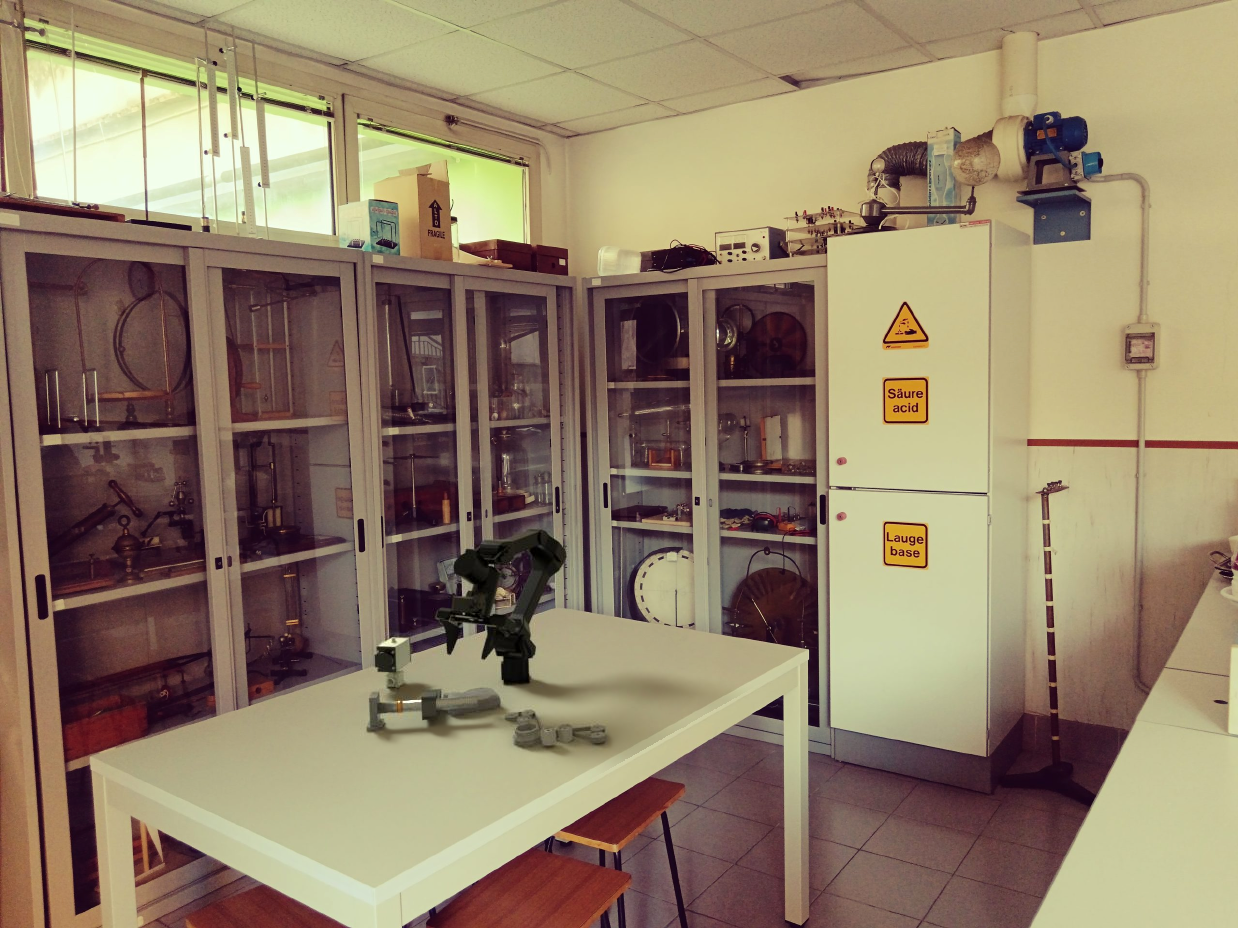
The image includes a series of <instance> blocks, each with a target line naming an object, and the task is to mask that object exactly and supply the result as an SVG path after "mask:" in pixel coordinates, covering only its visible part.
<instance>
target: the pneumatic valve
mask: <svg viewBox="0 0 1238 928" xmlns="http://www.w3.org/2000/svg"><path fill="white" fill-rule="evenodd" d="M375 648H376V649H375V650H376V653H375V654H374V668H377V671H376V672H377V673H386V674H385V677H386V679H385V680H386V681H385V682H386V684H385V686H386V688H398V689H399V688H400V687H401V686H403V685H404V684H405V682H406V681H405V680H404V679H405V670H404V669H403V668H405V667H406V666H407V665H409V664H410V663H412V653H413V645H412V643H411V637H408V636H407V637H403V636H399V637H398V636H393V637H391V638H389V639H387V640H384V641H382V642H380V643H379V644H378V645H377V646H376V647H375Z"/></svg>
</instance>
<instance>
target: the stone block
mask: <svg viewBox="0 0 1238 928" xmlns="http://www.w3.org/2000/svg"><path fill="white" fill-rule="evenodd" d="M474 696H477V697H478V708H464V709H448V710H444V711H445V712H447V713H448V714H449V715H451V717H458V716H462V715H463V716H464V715H469V714H475V713H480V712H484V711H485V712H486V711H491V710H494V709H499V708H500V706H501V704H502V703H501V697H500V695H499V694H498V693H497V692H496V691H495V690H494V689H493V687H485V686H484V687H477V688H471V689H468V690H465V691H462V692H461V691H457V692H456V691H453V692H444V693H443V697H442V698H458V697H474Z"/></svg>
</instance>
